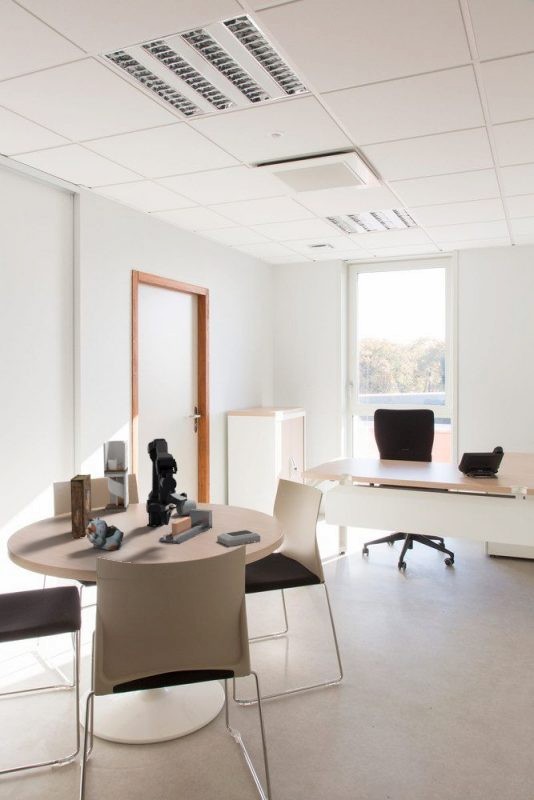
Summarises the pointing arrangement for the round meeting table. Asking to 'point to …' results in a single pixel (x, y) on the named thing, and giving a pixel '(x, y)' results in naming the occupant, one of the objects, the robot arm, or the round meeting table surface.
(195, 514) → the track base
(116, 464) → the grey shelving unit
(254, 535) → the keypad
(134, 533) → the round meeting table surface
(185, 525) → the tan flat rectangular block
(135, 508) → the round meeting table surface
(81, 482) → the book
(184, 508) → the ceramic mug
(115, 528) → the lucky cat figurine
